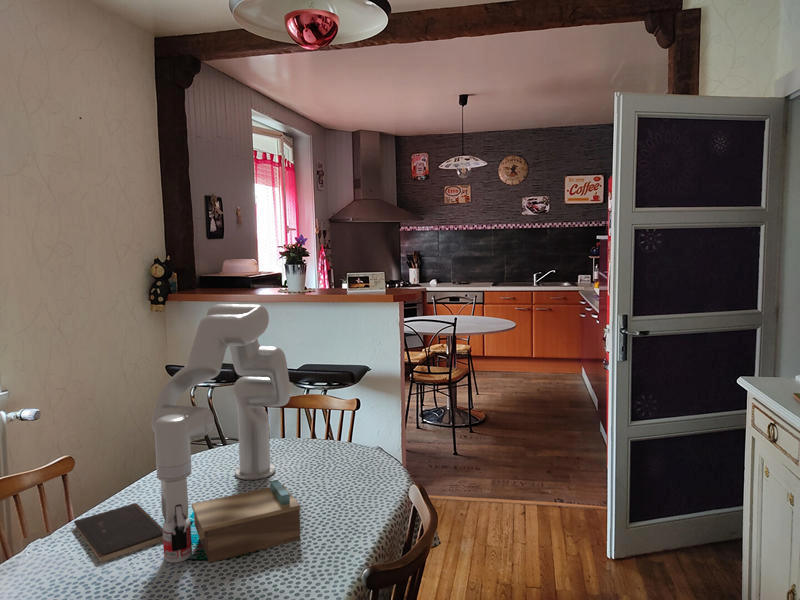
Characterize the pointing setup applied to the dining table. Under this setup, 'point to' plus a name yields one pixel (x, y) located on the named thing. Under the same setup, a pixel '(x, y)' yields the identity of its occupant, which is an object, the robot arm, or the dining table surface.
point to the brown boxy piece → (251, 536)
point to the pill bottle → (167, 543)
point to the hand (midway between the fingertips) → (177, 541)
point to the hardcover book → (119, 531)
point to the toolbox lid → (243, 507)
